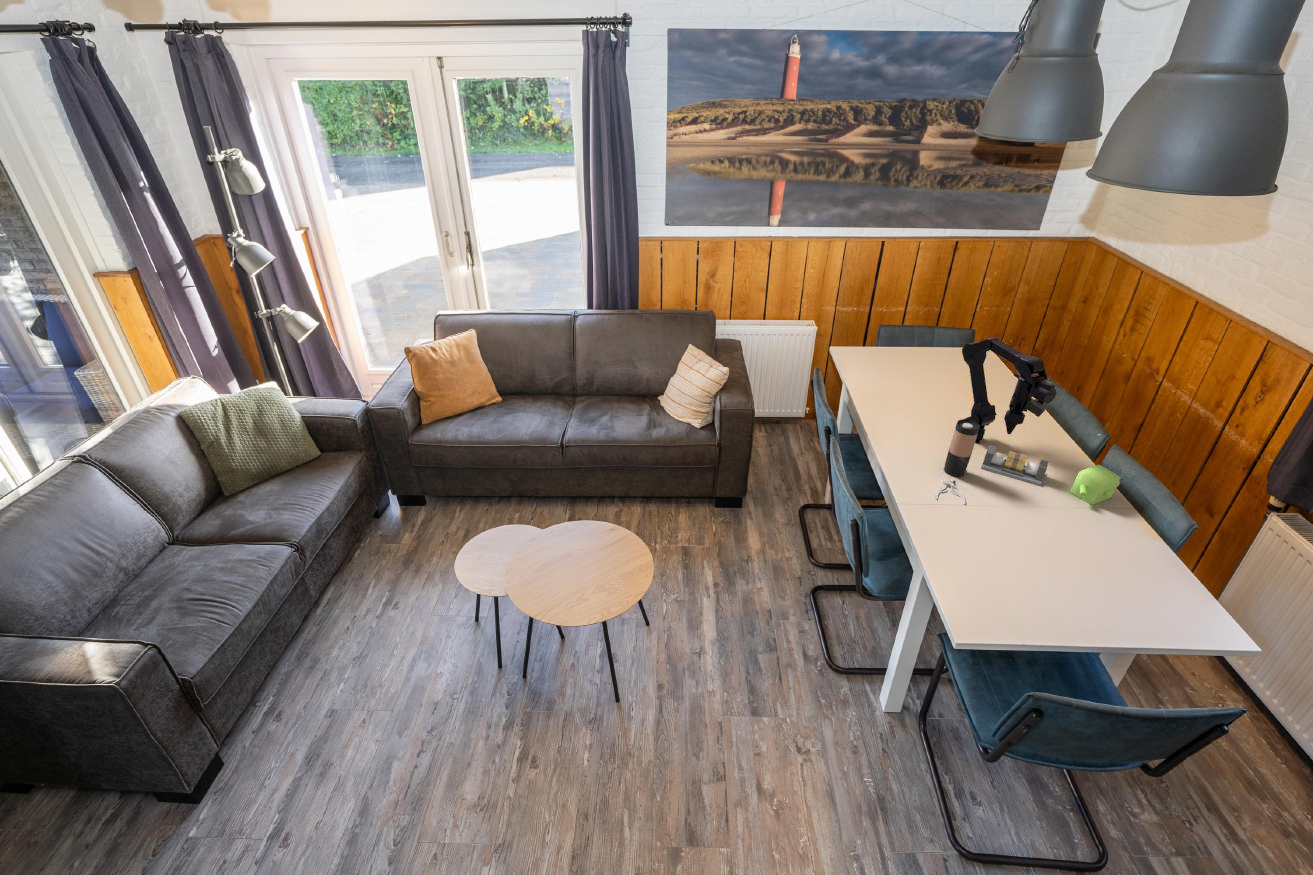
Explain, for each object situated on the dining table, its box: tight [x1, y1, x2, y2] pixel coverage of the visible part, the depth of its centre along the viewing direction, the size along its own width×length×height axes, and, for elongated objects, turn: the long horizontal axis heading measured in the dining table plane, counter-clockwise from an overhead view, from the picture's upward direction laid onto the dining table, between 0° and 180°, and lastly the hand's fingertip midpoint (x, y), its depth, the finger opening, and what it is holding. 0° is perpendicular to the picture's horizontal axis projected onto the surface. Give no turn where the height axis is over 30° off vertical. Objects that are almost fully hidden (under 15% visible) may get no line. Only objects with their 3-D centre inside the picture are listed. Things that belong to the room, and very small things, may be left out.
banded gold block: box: [1004, 450, 1028, 473], centre depth 244 cm, size 6×5×6 cm
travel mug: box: [943, 418, 980, 478], centre depth 239 cm, size 8×8×20 cm
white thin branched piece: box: [934, 474, 966, 506], centre depth 233 cm, size 10×2×15 cm
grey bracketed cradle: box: [980, 444, 1049, 487], centre depth 244 cm, size 20×10×6 cm, turn 58°
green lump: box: [1069, 464, 1121, 506], centre depth 230 cm, size 18×10×10 cm, turn 116°
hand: (1010, 428), depth 248 cm, fingers open, 9 cm apart
